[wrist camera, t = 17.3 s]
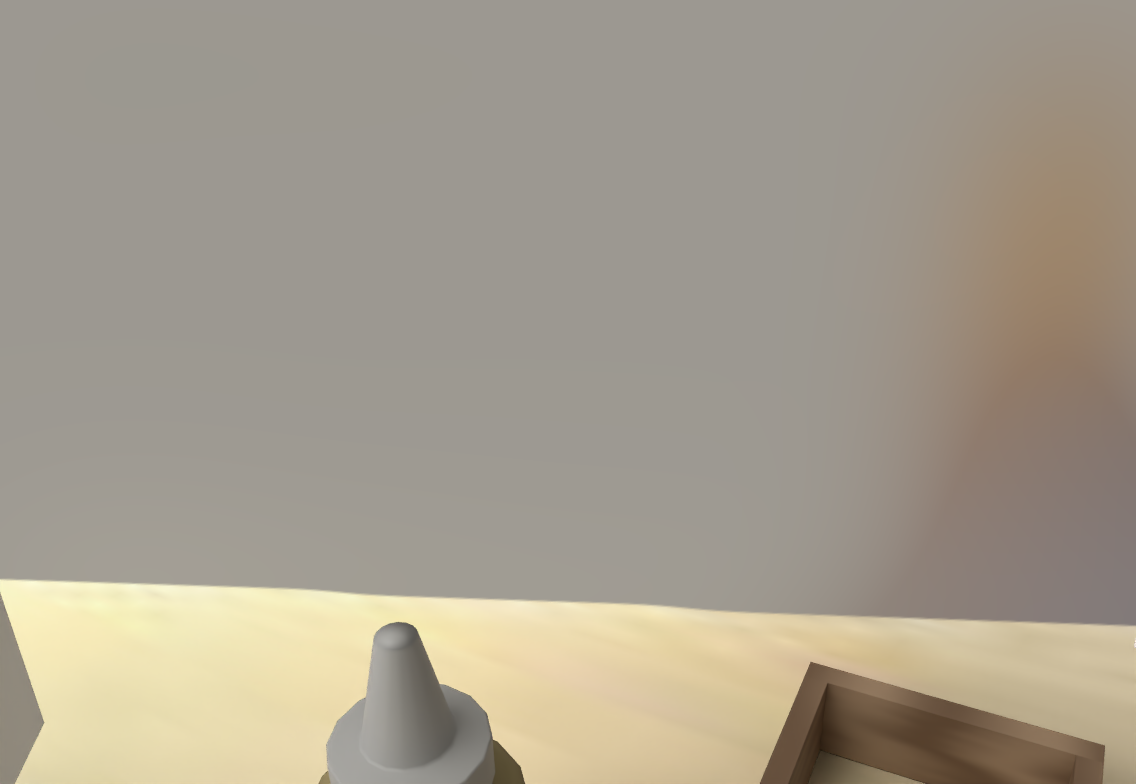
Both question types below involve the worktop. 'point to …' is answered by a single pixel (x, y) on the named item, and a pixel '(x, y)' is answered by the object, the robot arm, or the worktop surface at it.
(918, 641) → the worktop surface
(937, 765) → the holder
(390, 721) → the squeeze bottle
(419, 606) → the worktop surface
